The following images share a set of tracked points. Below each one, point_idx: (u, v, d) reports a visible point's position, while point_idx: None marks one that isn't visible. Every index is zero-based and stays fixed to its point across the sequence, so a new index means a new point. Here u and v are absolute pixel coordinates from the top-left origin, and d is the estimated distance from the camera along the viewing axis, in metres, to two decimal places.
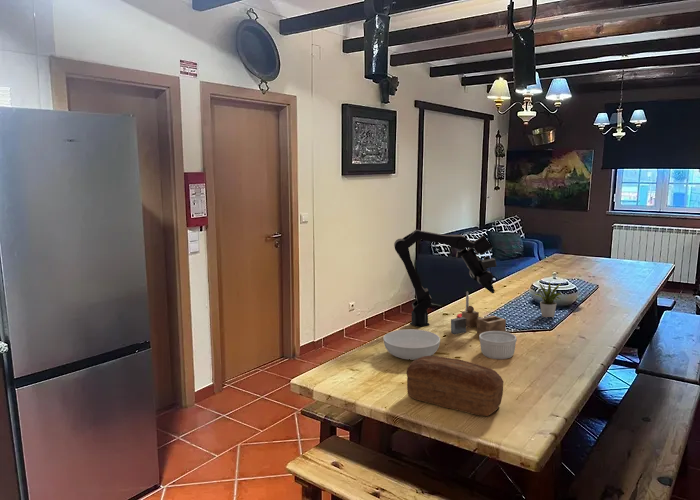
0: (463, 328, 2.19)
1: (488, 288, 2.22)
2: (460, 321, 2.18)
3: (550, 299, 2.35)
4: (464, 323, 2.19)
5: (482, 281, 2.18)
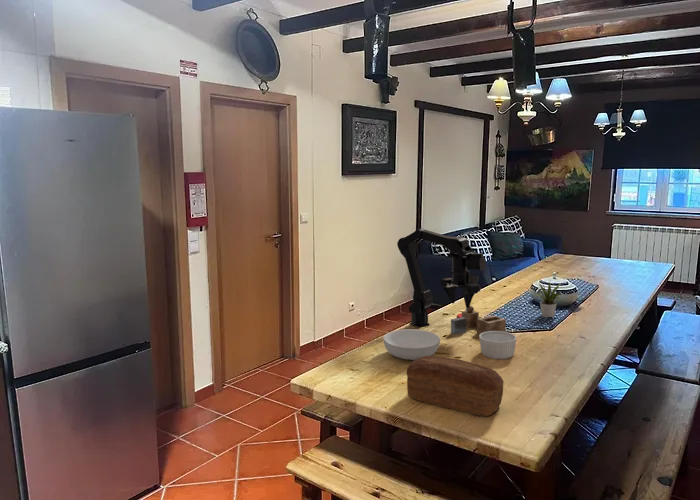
0: (463, 328, 2.19)
1: (467, 301, 2.12)
2: (460, 321, 2.18)
3: (550, 299, 2.35)
4: (464, 323, 2.19)
5: (471, 290, 2.08)
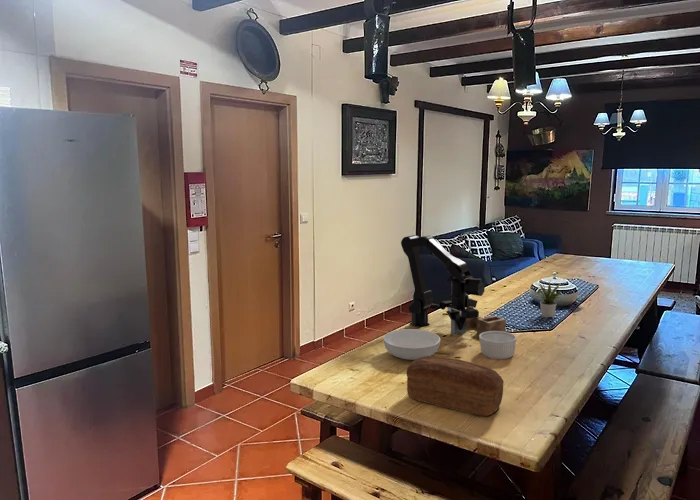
0: (463, 328, 2.19)
1: (460, 323, 2.16)
2: None
3: (550, 299, 2.35)
4: (464, 323, 2.19)
5: (469, 315, 2.09)
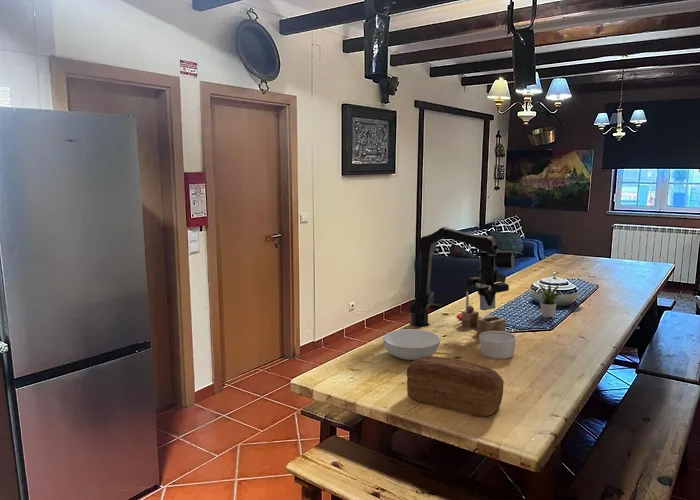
0: (492, 304, 2.15)
1: (490, 298, 2.12)
2: None
3: (550, 299, 2.35)
4: (493, 299, 2.15)
5: (500, 289, 2.05)
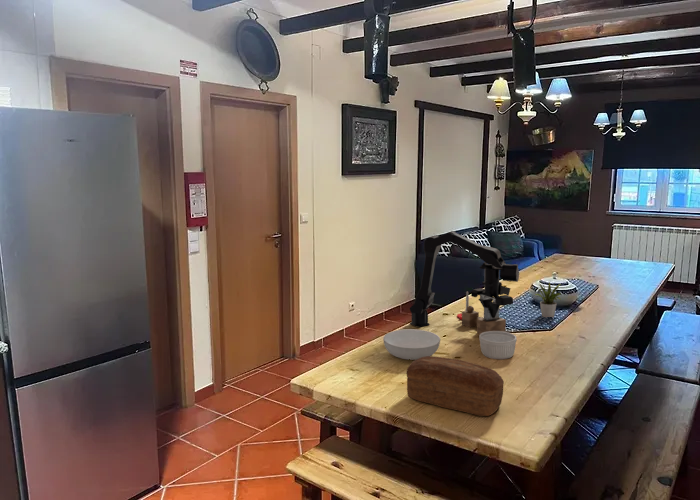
0: (496, 316, 2.16)
1: (493, 311, 2.13)
2: None
3: (550, 299, 2.35)
4: (497, 311, 2.16)
5: (504, 303, 2.06)
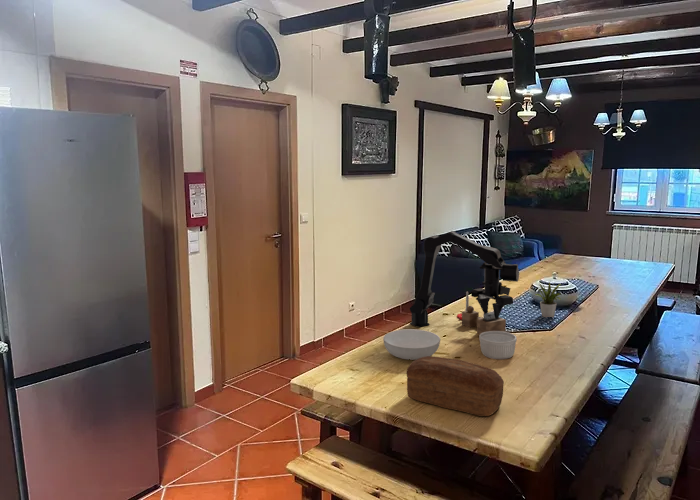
0: None
1: (496, 312, 2.11)
2: (493, 315, 2.15)
3: (550, 299, 2.35)
4: None
5: (504, 303, 2.06)
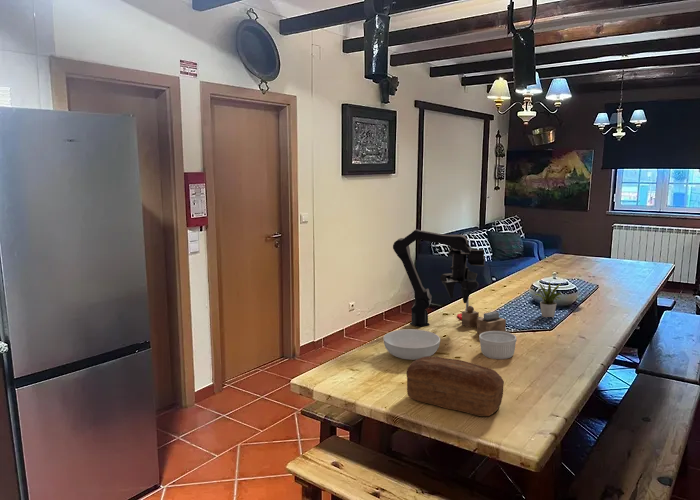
0: None
1: (465, 296, 2.20)
2: (493, 315, 2.15)
3: (550, 299, 2.35)
4: (497, 317, 2.16)
5: (469, 286, 2.15)
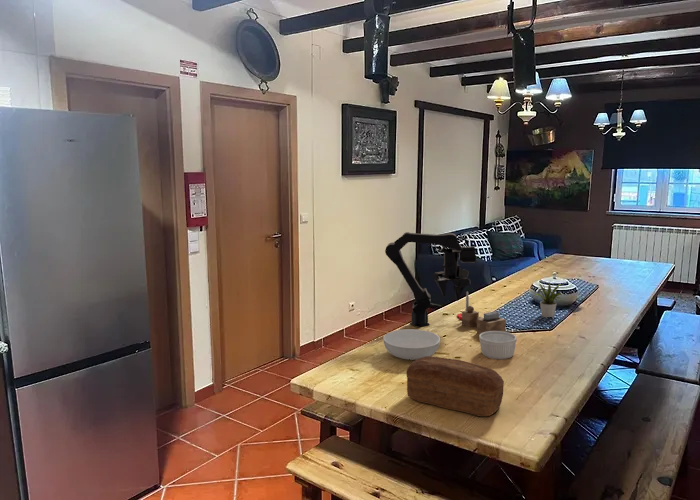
0: None
1: (457, 293, 2.22)
2: (493, 315, 2.15)
3: (550, 299, 2.35)
4: (497, 317, 2.16)
5: (461, 284, 2.18)
